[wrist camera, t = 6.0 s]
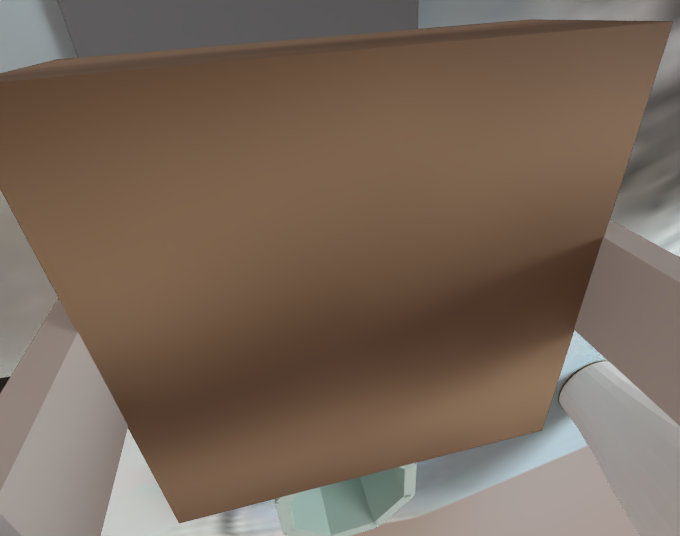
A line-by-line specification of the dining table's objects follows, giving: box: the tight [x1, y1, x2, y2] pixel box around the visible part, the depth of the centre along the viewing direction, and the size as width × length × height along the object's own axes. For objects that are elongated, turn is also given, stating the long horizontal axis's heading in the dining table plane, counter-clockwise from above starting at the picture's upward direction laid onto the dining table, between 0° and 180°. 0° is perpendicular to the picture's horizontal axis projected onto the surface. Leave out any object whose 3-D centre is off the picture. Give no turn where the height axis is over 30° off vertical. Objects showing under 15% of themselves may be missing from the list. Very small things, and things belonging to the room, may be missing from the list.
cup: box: [559, 361, 680, 536], centre depth 32 cm, size 10×10×14 cm
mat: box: [57, 0, 418, 58], centre depth 20 cm, size 16×14×1 cm
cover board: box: [0, 20, 673, 523], centre depth 11 cm, size 11×11×4 cm
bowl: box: [275, 463, 417, 536], centre depth 29 cm, size 9×9×6 cm
